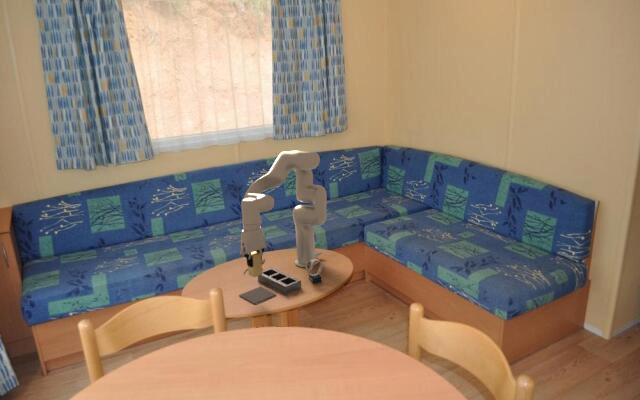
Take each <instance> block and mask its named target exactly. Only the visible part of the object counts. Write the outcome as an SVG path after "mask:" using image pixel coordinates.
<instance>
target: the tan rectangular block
mask: <svg viewBox="0 0 640 400" xmlns="http://www.w3.org/2000/svg"><path fill="white" fill-rule="evenodd" d="M248 254H249V253H248ZM251 259H252V265H253V267H249V266H248V265H247V269H248V270H247V271H248V275H249V276H250V277H253V278H258V276H259V275H262V269H263V264H262V261H263V260H262V261H261V253H259V252H257V251H254V252H252V253H251Z"/></svg>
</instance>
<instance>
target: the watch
mask: <svg viewBox="0 0 640 400" xmlns="http://www.w3.org/2000/svg"><path fill="white" fill-rule="evenodd" d="M315 261H318V263H320V264H319V266H318V267H319V268H318V269H317V271H316V272H312V273H311V271H312V270H313V267H314V266H313V264H314V262H315ZM323 268H324V266H323V263H322V261H321V260H319V258H317V259H312V260H310V261H308V263H307V265H306V267H305V270H306V272H307V274H308V280H309V281H310V283H311V285H316V284H320V283H322V276H321V273H322V271H323Z"/></svg>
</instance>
